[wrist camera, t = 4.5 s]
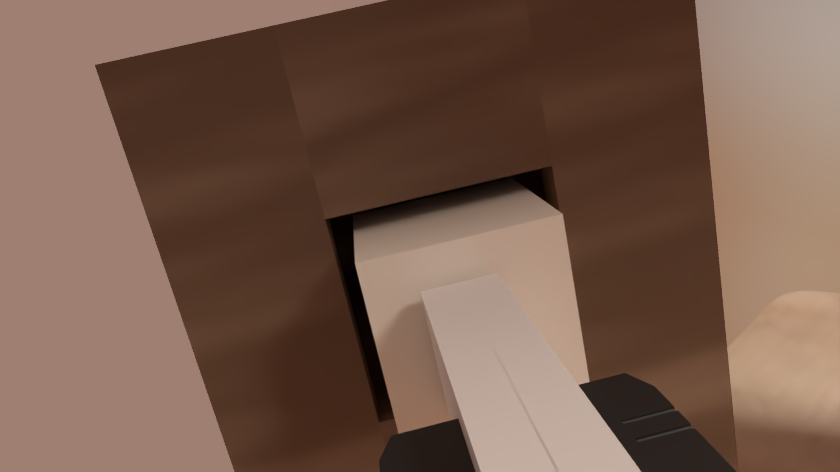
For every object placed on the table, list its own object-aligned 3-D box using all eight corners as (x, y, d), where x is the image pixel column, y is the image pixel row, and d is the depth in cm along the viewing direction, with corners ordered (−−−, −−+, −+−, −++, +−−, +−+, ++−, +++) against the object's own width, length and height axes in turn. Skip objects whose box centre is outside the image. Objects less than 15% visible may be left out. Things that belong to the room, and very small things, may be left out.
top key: (592, 399, 13) (562, 214, 12) (402, 447, 13) (355, 264, 12) (537, 323, 17) (510, 177, 16) (389, 360, 17) (352, 215, 16)
